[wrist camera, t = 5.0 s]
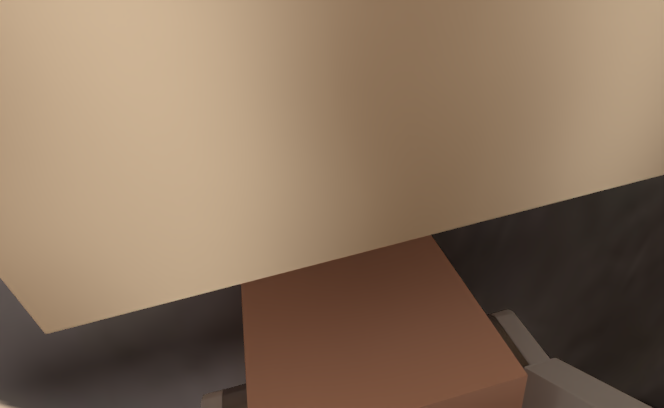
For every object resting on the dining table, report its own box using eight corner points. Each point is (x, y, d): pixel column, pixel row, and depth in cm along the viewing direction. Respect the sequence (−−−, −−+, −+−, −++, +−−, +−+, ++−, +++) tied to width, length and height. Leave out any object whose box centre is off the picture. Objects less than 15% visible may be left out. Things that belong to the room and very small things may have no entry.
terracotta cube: (419, 218, 12) (527, 374, 8) (424, 336, 14) (504, 496, 10) (239, 264, 11) (250, 458, 7) (279, 377, 14) (304, 563, 10)
